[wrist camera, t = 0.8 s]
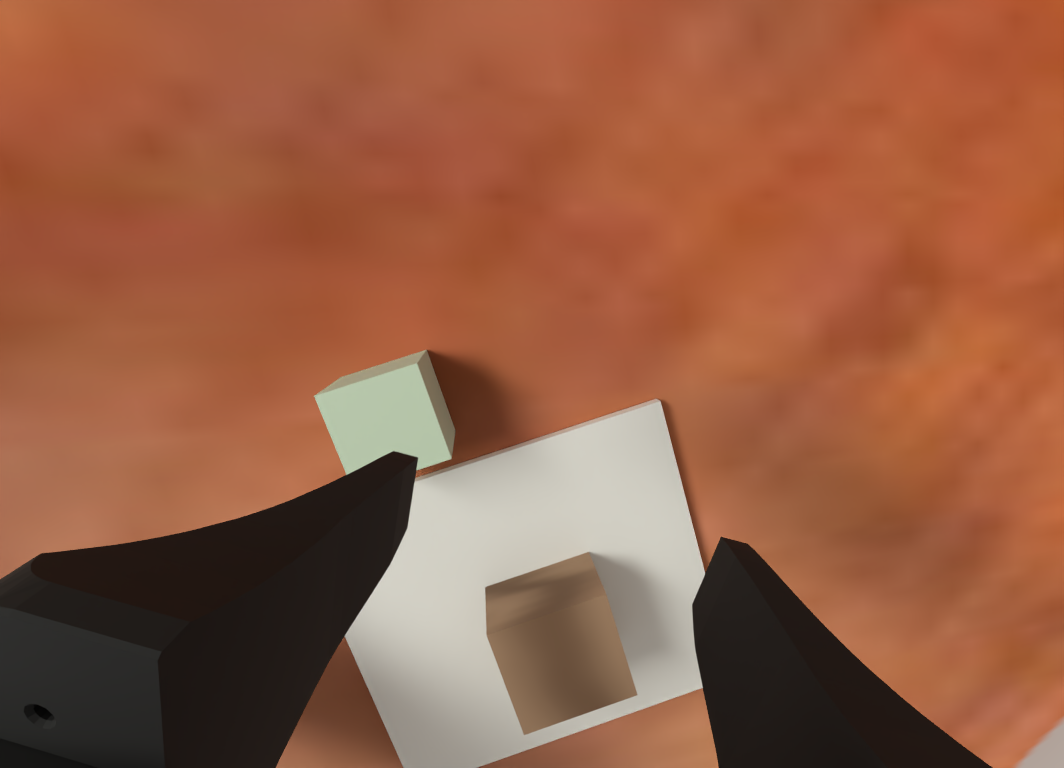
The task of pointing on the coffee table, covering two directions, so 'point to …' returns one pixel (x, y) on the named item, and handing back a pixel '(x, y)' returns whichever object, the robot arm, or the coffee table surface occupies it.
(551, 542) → the baseplate
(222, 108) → the coffee table surface
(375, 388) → the sage block
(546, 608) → the walnut block
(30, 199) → the coffee table surface
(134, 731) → the robot arm
